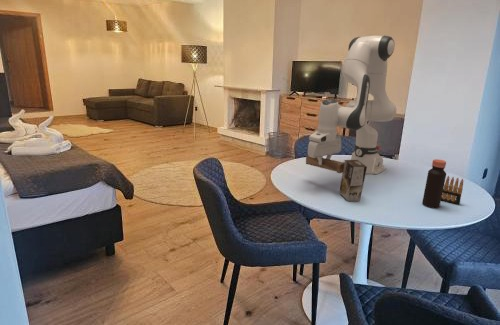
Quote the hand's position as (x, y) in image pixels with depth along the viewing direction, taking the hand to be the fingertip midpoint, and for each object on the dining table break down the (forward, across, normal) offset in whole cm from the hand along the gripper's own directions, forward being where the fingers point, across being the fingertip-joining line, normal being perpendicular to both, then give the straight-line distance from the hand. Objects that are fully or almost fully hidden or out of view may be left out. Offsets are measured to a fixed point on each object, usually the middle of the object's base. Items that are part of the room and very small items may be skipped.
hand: (323, 163), depth 161 cm
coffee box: (+11, 0, +16) cm, 20 cm away
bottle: (+12, -22, +42) cm, 49 cm away
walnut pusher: (+2, 0, 0) cm, 2 cm away
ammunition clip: (+12, -32, +44) cm, 56 cm away
